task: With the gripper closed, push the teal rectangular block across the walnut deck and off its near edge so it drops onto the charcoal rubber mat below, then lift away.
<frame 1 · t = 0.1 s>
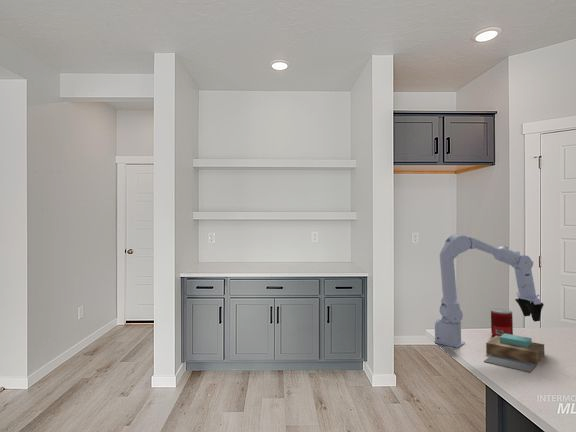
hand: (531, 318, 149), 10 cm above the counter, tool pointing down, fingers open, 7 cm apart
deck: (515, 354, 139), on the counter
mat: (509, 363, 130), on the counter
canned food: (502, 336, 161), on the counter
teal rectangular block: (515, 342, 140), point 4 cm above the counter, touching deck
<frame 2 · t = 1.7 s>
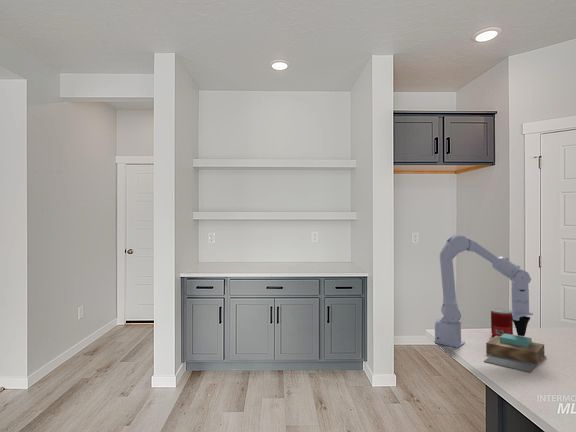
hand: (521, 335, 145), 5 cm above the counter, tool pointing down, fingers closed
nothing on the counter moved.
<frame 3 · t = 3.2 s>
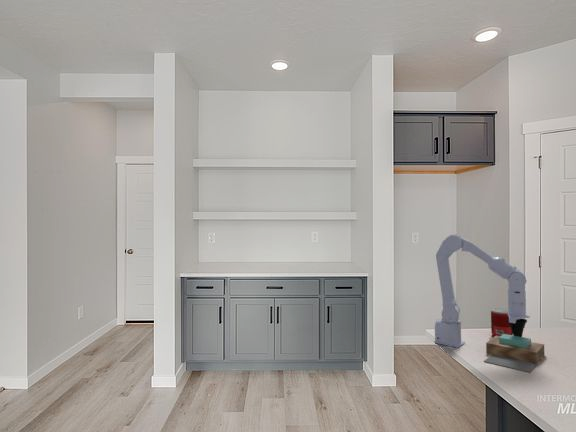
hand: (517, 338, 142), 5 cm above the counter, tool pointing down, fingers closed
teal rectangular block: (514, 343, 139), point 4 cm above the counter, touching deck, gripper
everything else where it was.
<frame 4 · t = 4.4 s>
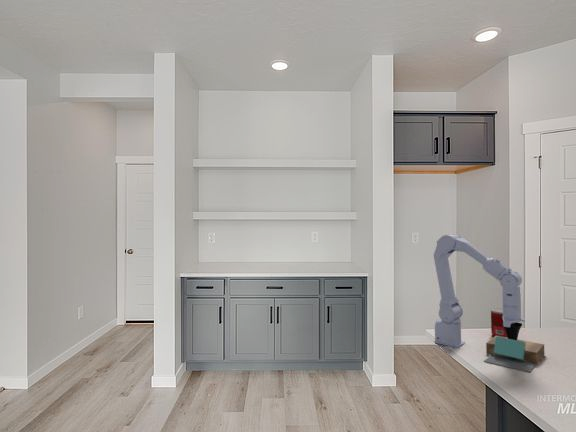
hand: (512, 343, 137), 5 cm above the counter, tool pointing down, fingers closed
teal rectangular block: (510, 348, 134), point 4 cm above the counter, tilted 62°
everything else where it was.
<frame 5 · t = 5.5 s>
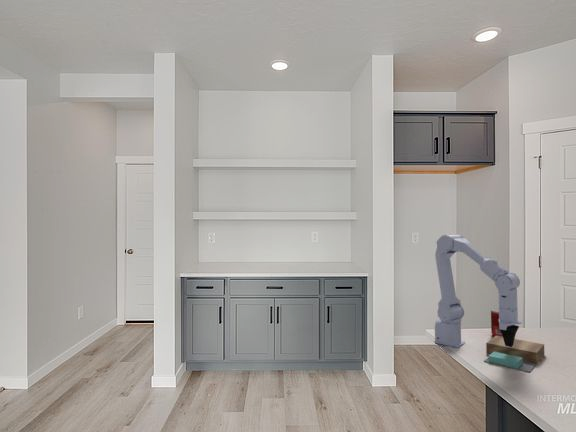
hand: (509, 346, 134), 5 cm above the counter, tool pointing down, fingers closed
teal rectangular block: (505, 356, 130), point 2 cm above the counter, tilted 180°, touching mat
everything else where it was.
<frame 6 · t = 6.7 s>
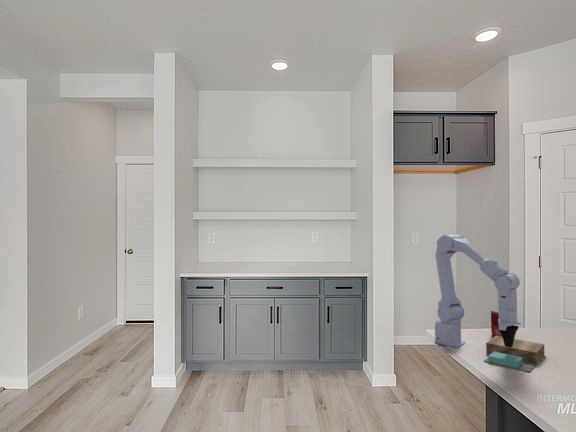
hand: (508, 346, 133), 5 cm above the counter, tool pointing down, fingers closed
nothing on the counter moved.
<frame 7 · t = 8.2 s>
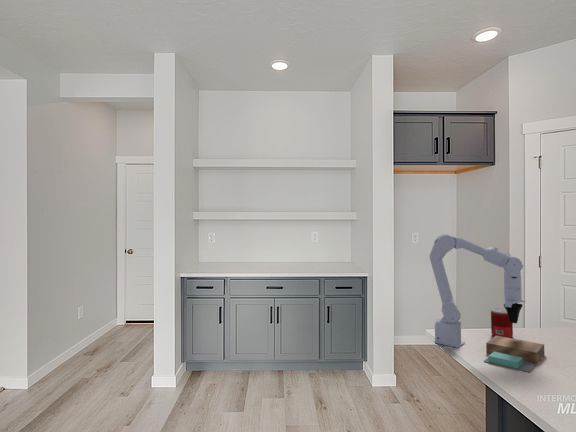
hand: (513, 322, 145), 10 cm above the counter, tool pointing down, fingers closed
nothing on the counter moved.
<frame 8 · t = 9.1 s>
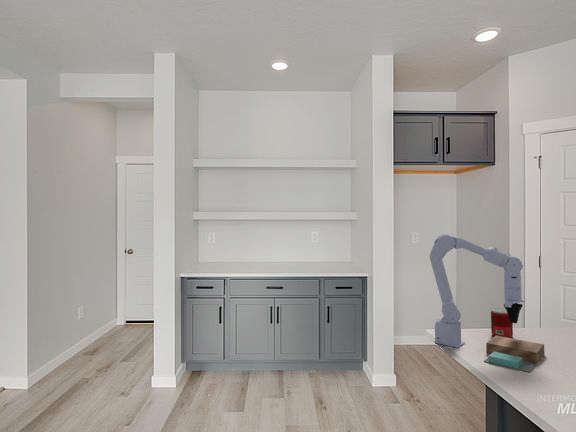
hand: (513, 322, 145), 10 cm above the counter, tool pointing down, fingers closed
nothing on the counter moved.
at the end: teal rectangular block point 2.3 cm above the counter; teal rectangular block inside the target area on the mat (1.5 cm from its centre), point 2.3 cm above the mat's base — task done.
